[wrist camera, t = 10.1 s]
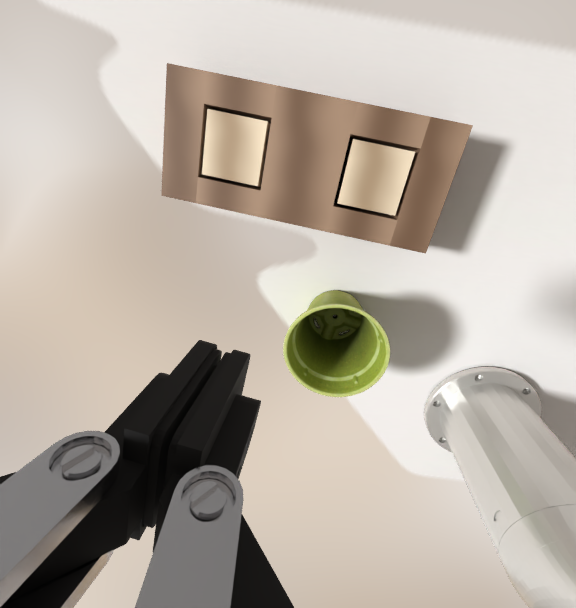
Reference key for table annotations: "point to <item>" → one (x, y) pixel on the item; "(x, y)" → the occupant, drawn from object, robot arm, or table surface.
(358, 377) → the plant pot
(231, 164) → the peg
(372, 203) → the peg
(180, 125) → the peg board
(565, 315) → the table surface
